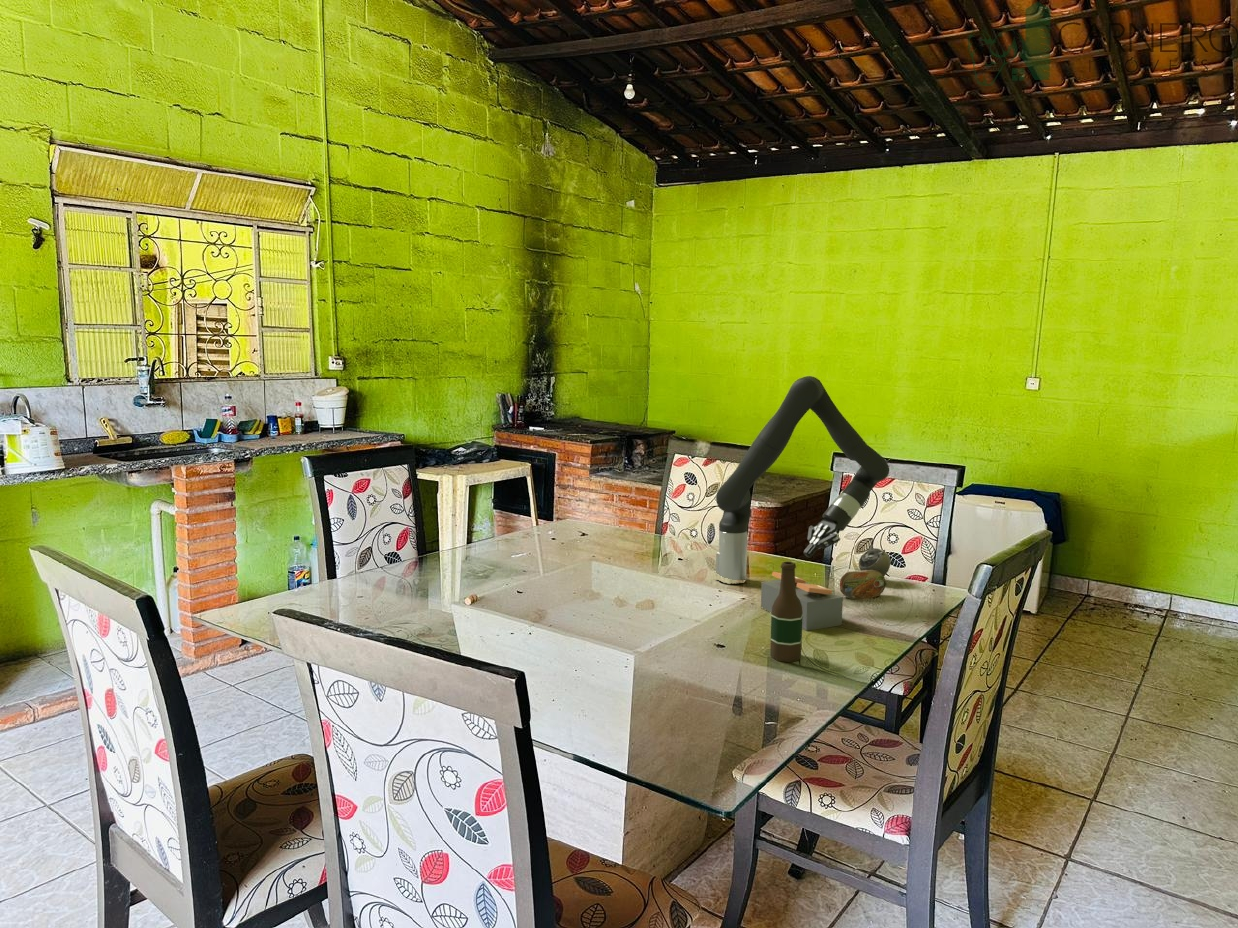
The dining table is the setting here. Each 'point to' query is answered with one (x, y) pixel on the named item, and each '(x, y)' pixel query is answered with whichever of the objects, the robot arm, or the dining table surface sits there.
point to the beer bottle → (786, 619)
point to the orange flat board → (814, 588)
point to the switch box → (807, 605)
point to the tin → (862, 584)
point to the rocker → (797, 580)
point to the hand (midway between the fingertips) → (806, 555)
